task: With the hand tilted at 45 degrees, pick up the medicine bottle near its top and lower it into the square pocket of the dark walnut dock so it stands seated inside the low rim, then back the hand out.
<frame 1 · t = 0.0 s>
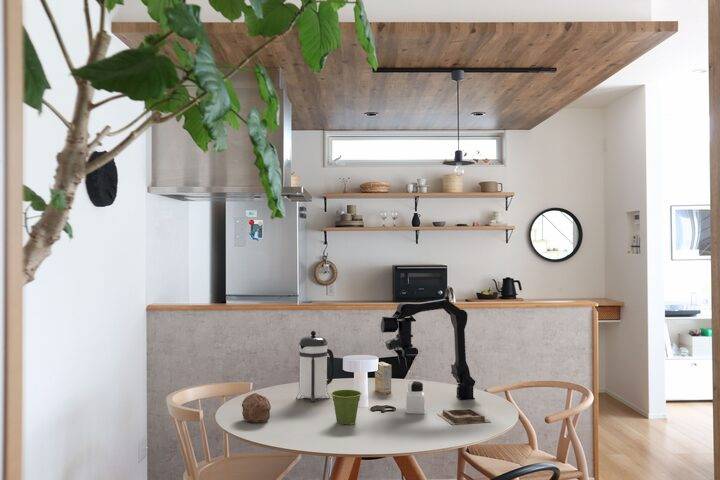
hand: (404, 368, 273), 15 cm above the table, tool pointing down, fingers open, 9 cm apart
supplement box: (383, 392, 292), on the table
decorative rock: (256, 421, 244), on the table
coffee press: (314, 398, 280), on the table
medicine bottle: (415, 412, 257), on the table
plant pot: (346, 423, 241), on the table
walnut dock: (463, 419, 247), on the table
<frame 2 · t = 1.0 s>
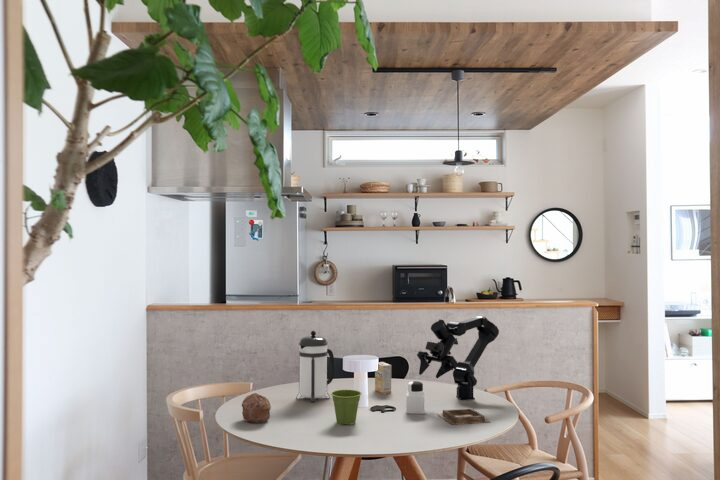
hand: (427, 375, 263), 13 cm above the table, tool tilted 45°, fingers open, 9 cm apart
nothing on the table moved.
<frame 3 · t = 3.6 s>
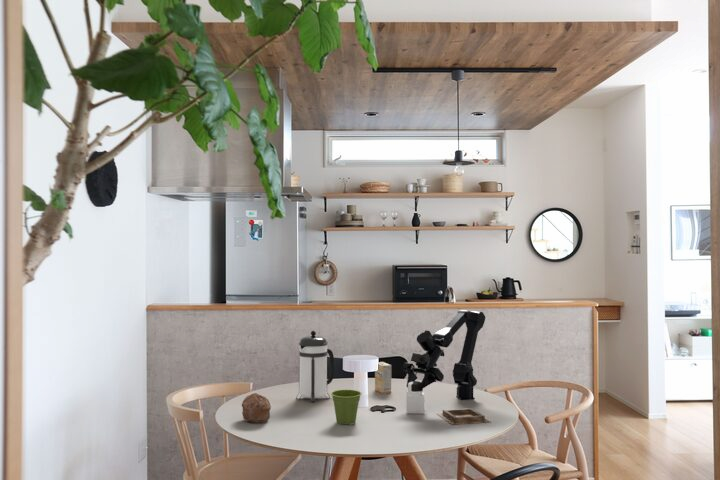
hand: (413, 388, 257), 10 cm above the table, tool tilted 45°, fingers closed on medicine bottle, 6 cm apart
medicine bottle: (415, 412, 257), on the table, touching gripper
everything else where it was.
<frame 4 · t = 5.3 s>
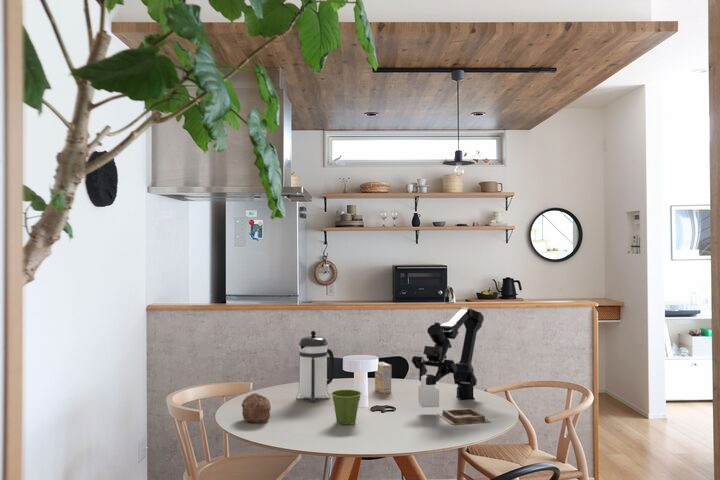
hand: (426, 381, 252), 13 cm above the table, tool tilted 45°, fingers closed on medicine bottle, 6 cm apart
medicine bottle: (428, 405, 253), point 3 cm above the table, touching gripper
everything else where it was.
when the fingers open (11 cm above the table, at t = 7.2 s): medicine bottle drops 1 cm, resting on walnut dock.
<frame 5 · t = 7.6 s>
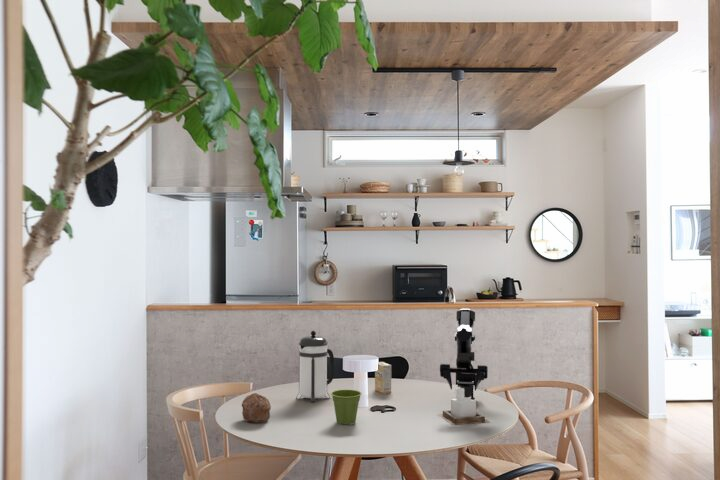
hand: (463, 389, 246), 12 cm above the table, tool tilted 45°, fingers open, 9 cm apart
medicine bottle: (463, 418, 248), resting on walnut dock
walnut dock: (463, 420, 247), on the table, touching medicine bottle
everything else where it was.
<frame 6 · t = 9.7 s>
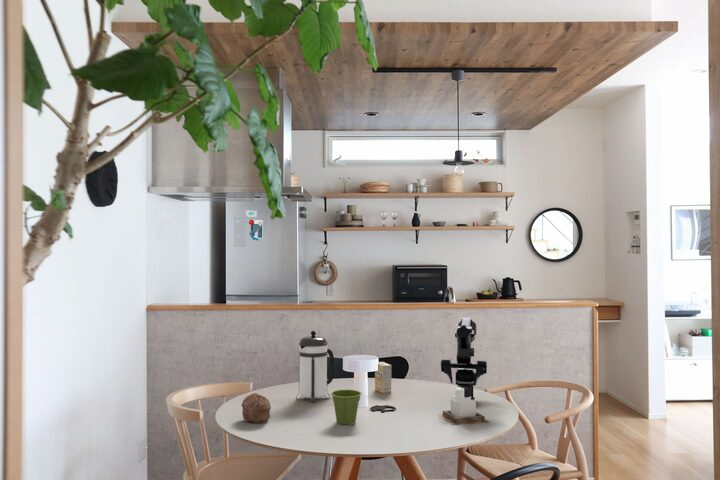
hand: (463, 383, 256), 12 cm above the table, tool tilted 45°, fingers open, 9 cm apart
nothing on the table moved.
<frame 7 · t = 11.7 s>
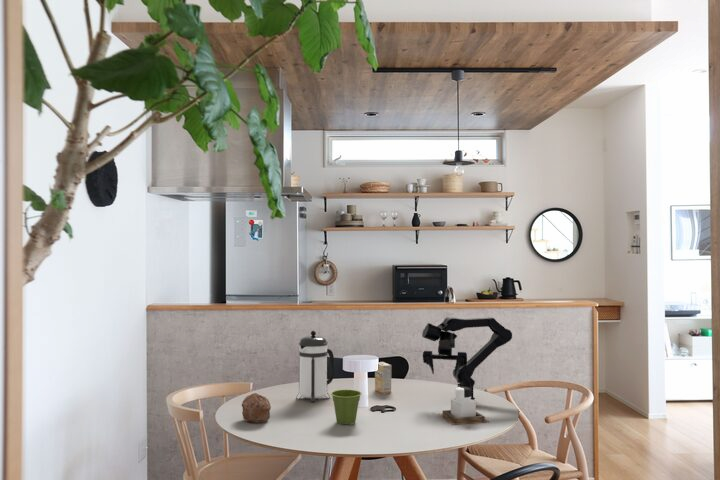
hand: (444, 374, 266), 14 cm above the table, tool tilted 45°, fingers open, 9 cm apart
nothing on the table moved.
at the end: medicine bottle 0.2 cm off-centre on the walnut dock, point 0.6 cm above the walnut dock's base; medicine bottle tilted 0°; walnut dock moved 0.8 cm from its start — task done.
